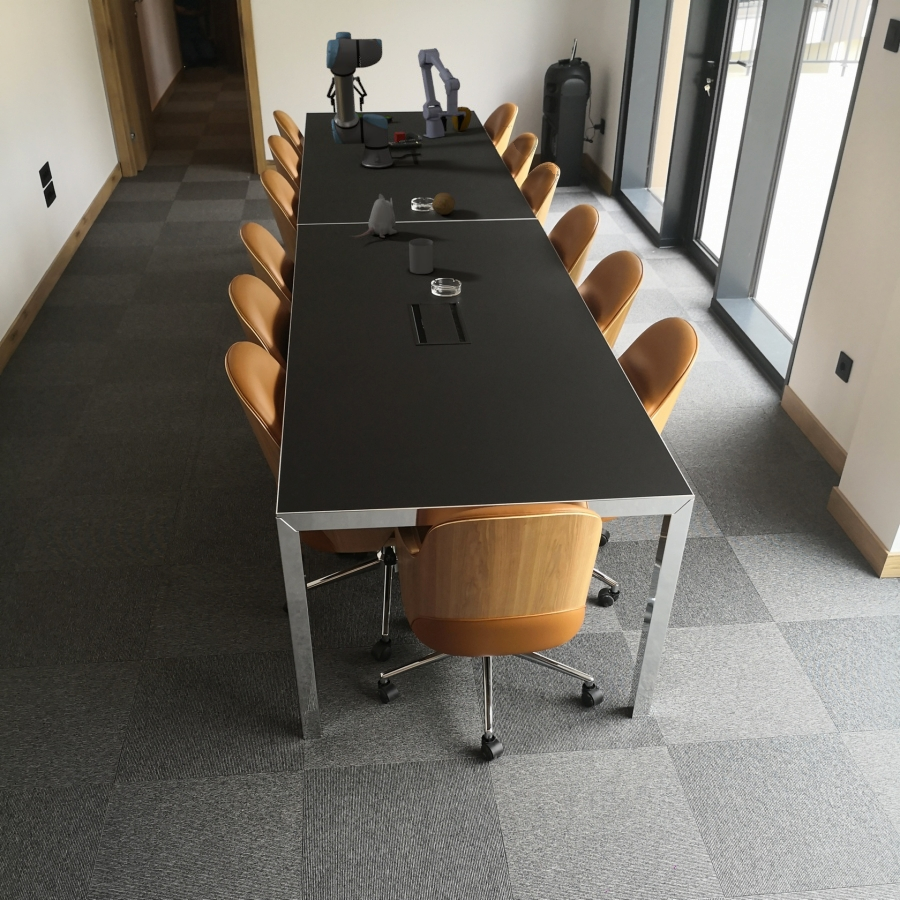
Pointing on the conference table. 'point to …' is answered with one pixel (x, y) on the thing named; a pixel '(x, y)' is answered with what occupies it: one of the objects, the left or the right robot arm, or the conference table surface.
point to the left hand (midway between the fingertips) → (347, 111)
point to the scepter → (389, 119)
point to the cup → (421, 256)
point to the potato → (443, 203)
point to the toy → (381, 218)
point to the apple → (465, 121)
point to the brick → (399, 136)
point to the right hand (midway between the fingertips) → (452, 130)
